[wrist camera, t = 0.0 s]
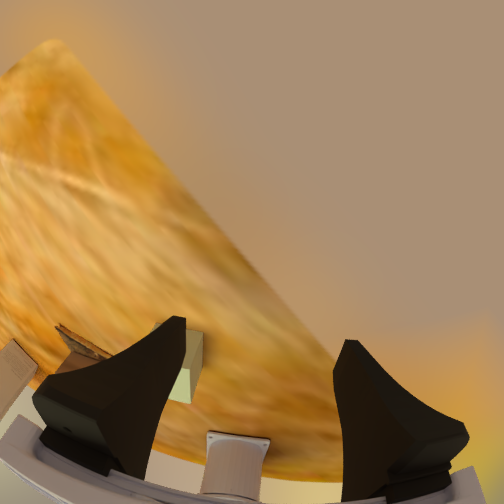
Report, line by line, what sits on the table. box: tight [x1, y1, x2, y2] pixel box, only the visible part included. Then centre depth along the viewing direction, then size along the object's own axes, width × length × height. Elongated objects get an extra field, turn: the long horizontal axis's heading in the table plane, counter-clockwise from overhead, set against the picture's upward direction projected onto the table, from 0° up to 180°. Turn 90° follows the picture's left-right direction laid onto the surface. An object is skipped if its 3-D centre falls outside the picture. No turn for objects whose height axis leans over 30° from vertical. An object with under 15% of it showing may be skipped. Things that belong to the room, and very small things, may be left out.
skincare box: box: [0, 339, 38, 421], centre depth 25 cm, size 6×4×12 cm
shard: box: [55, 326, 112, 362], centre depth 27 cm, size 11×8×2 cm
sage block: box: [150, 323, 203, 404], centre depth 23 cm, size 4×4×5 cm
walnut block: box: [55, 351, 100, 374], centre depth 25 cm, size 5×5×4 cm
